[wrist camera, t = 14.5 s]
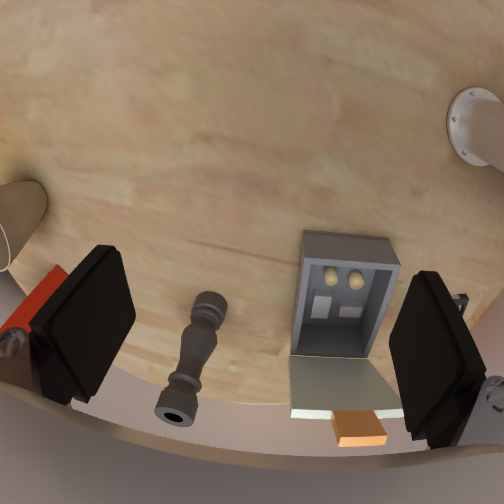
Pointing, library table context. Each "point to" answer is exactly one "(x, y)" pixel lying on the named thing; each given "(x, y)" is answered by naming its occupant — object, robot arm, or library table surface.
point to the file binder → (35, 300)
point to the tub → (341, 293)
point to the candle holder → (192, 361)
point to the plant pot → (19, 217)
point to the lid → (343, 397)
